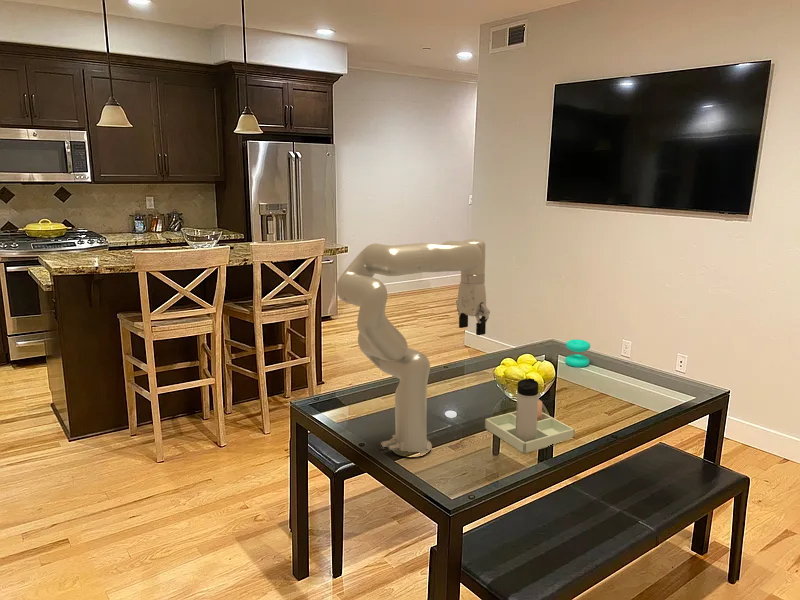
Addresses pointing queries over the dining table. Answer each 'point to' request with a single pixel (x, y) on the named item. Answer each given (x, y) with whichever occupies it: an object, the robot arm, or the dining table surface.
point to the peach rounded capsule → (539, 410)
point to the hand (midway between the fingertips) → (471, 330)
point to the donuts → (577, 359)
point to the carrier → (545, 436)
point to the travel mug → (527, 410)
